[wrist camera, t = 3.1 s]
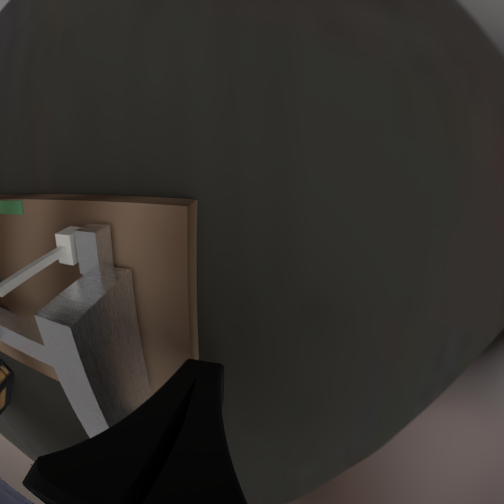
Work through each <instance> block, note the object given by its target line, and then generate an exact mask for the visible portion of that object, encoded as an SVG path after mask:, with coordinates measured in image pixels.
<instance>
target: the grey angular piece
mask: <svg viewBox="0 0 504 504" xmlns="http://www.w3.org/2000/svg"><path fill="white" fill-rule="evenodd" d="M74 232H75V241H76V248H77V256H78V262H79V268H80V274H84V275H83V276H82V277H81V278H79V279H78V280H77V281H75V282H74V283H73V284H71V285H70V286H69V287H68V288H66V289H65V290H64V291H63V292H61V293H60V294H59V295H58V296H56V297H55V298H54V299H53V300H51V301H50V302H49V303H48V304H47V305H45V306H44V307H43V308H42V309H41V310H39V311H38V312H37V313H36V314H35V315H34V316H35V319H36V322H34V321H32V320H29V319H27V318H24V317H22V316H19V315H17V314H15V313H12V312H10V311H8V310H5V309H3V308H1V307H0V341H2V342H4V343H6V344H8V345H10V346H11V347H13V348H15V349H17V350H19V351H21V352H23V353H25V354H27V355H29V356H31V357H33V358H35V359H37V360H39V361H41V362H43V363H46V364H48V365H50V366H52V367H54V369H55V372H56V374H57V376H58V379H59V381H60V383H61V385H62V387H63V389H64V391H65V393H66V395H67V397H68V399H69V401H70V403H71V405H72V407H73V409H74V411H75V413H76V415H77V417H78V418H79V420H80V422H81V424H82V426H83V427H84V429H85V431H86V432H87V434H88V436H89V437H90V438H92V437H94V436H96V435H97V434H99V433H101V432H103V431H105V430H106V429H108V428H110V427H111V426H113V425H115V424H116V423H118V422H119V421H121V420H122V419H124V418H125V417H126V416H128V415H129V414H130V413H132V412H133V411H134V410H136V409H137V408H138V407H139V406H140V405H142V404H143V403H144V402H145V401H146V400H148V399H149V398H150V396H151V394H152V392H151V388H150V384H149V379H148V374H147V370H146V365H145V360H144V355H143V349H142V344H141V338H140V332H139V326H138V320H137V313H136V306H135V298H134V290H133V282H132V273H131V269H124V268H118V267H114V263H113V254H112V244H111V232H110V225H107V224H96V223H89V224H87V225H85V226H83V227H81V228H79V229H77V230H75V231H74Z"/></svg>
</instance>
